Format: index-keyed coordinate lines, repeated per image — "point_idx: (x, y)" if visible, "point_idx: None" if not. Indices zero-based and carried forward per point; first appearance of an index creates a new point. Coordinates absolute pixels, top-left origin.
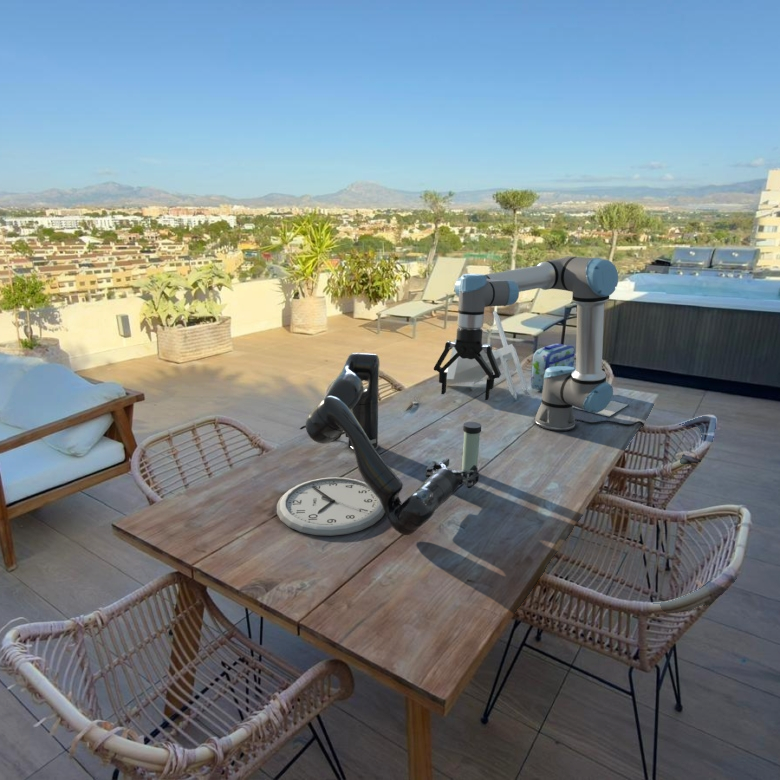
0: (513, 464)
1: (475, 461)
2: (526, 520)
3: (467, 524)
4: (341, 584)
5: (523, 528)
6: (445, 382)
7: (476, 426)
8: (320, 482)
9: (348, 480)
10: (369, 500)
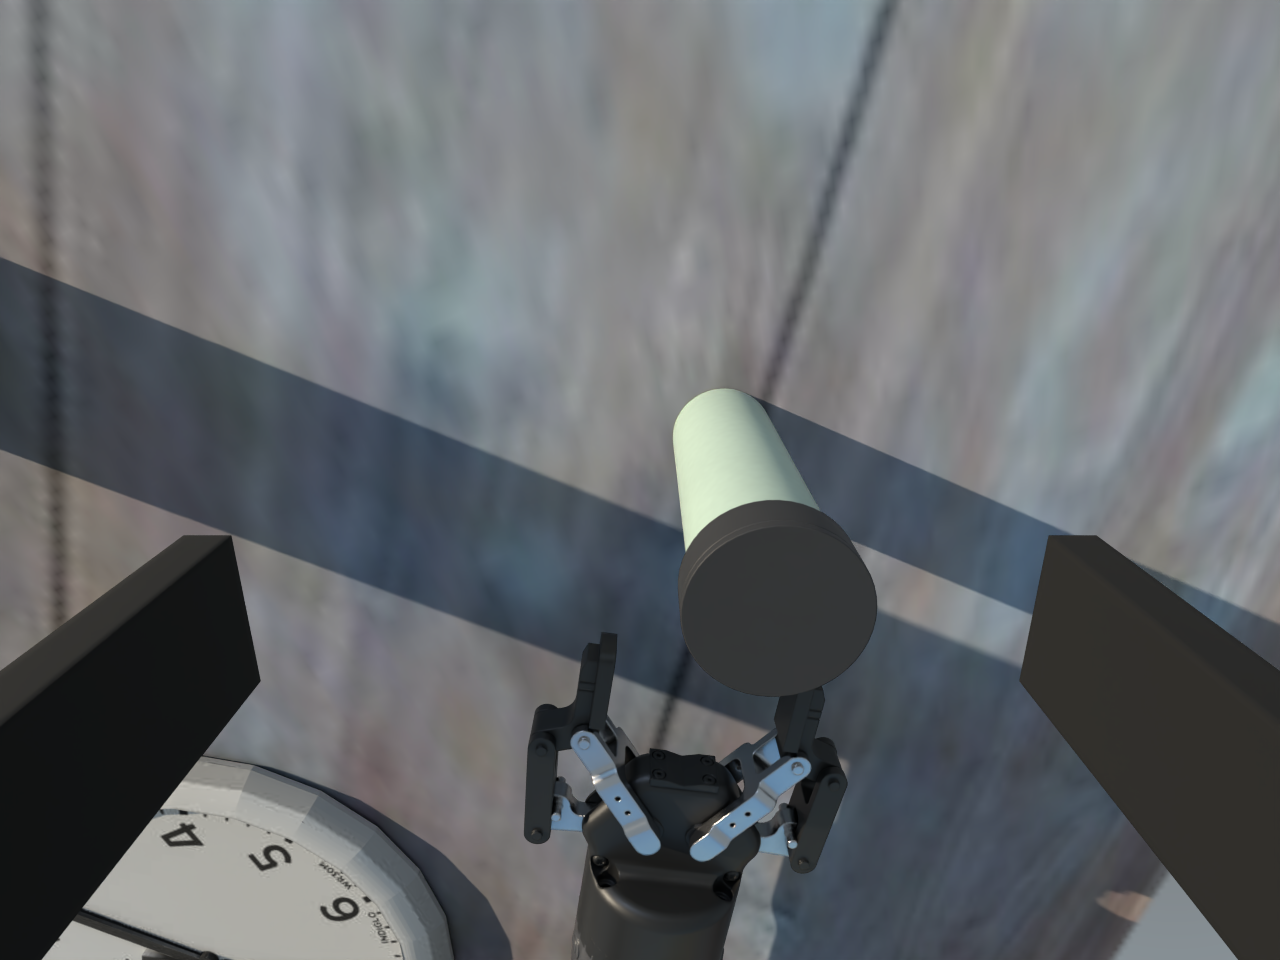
0: (1019, 152)
1: None
2: (1059, 789)
3: (802, 890)
4: None
5: (1040, 846)
6: (104, 747)
7: (827, 643)
8: None
9: None
10: (343, 906)
